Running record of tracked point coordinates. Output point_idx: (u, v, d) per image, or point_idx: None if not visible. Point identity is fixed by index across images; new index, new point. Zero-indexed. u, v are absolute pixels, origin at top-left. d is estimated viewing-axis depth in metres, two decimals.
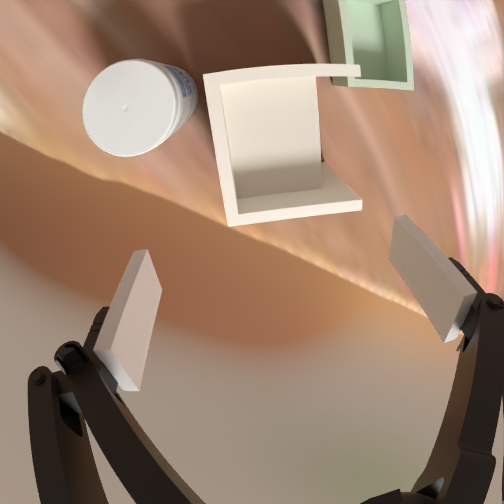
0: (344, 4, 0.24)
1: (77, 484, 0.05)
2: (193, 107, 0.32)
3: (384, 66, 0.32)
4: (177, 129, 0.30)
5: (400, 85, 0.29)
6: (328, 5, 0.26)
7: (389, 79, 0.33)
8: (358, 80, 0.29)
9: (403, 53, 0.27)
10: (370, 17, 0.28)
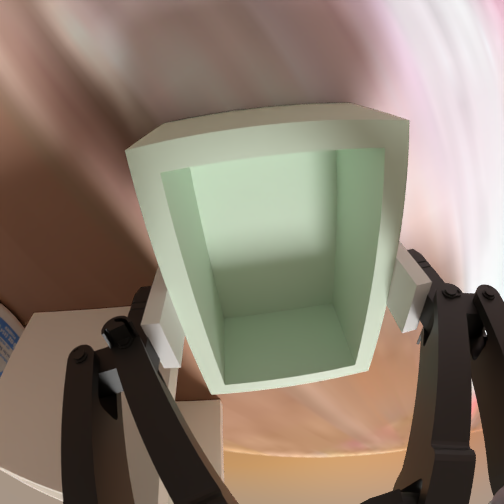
0: (166, 232, 0.10)
1: (105, 469, 0.06)
2: None
3: (327, 280, 0.19)
4: None
5: (336, 373, 0.16)
6: None
7: (334, 306, 0.19)
8: (232, 386, 0.16)
9: (362, 309, 0.14)
10: (300, 169, 0.15)
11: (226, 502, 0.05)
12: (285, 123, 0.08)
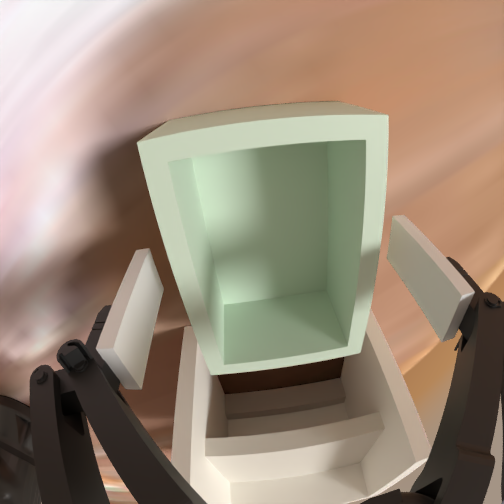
0: (171, 215, 0.11)
1: (78, 483, 0.05)
2: None
3: (320, 267, 0.20)
4: None
5: (329, 355, 0.17)
6: None
7: (328, 292, 0.21)
8: (231, 366, 0.17)
9: (352, 290, 0.15)
10: (294, 162, 0.16)
11: None
12: (276, 119, 0.10)
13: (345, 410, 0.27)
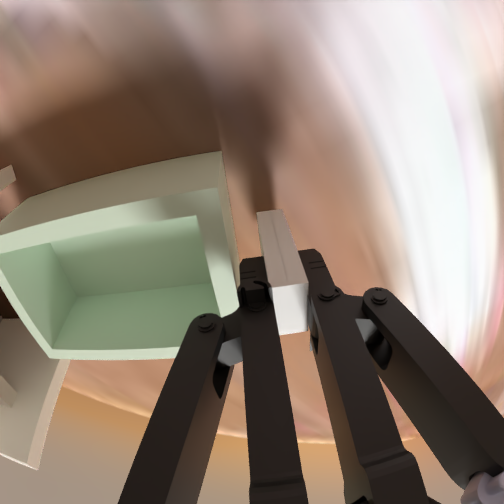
0: (142, 216, 0.11)
1: (191, 450, 0.07)
2: None
3: (96, 290, 0.20)
4: None
5: (38, 337, 0.15)
6: (172, 169, 0.14)
7: (76, 301, 0.20)
8: None
9: (101, 343, 0.16)
10: (186, 261, 0.19)
11: (305, 489, 0.05)
12: (236, 292, 0.14)
13: None
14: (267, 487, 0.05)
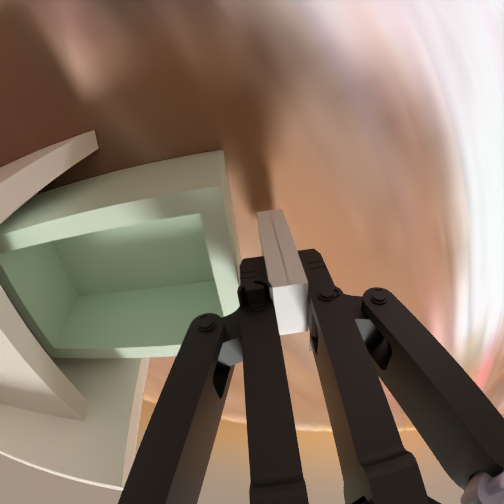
0: (145, 214, 0.11)
1: (192, 450, 0.07)
2: None
3: (98, 289, 0.20)
4: None
5: (40, 336, 0.15)
6: (174, 167, 0.14)
7: (78, 300, 0.20)
8: None
9: (103, 341, 0.16)
10: (188, 259, 0.19)
11: (305, 489, 0.05)
12: None
13: None
14: (267, 488, 0.05)
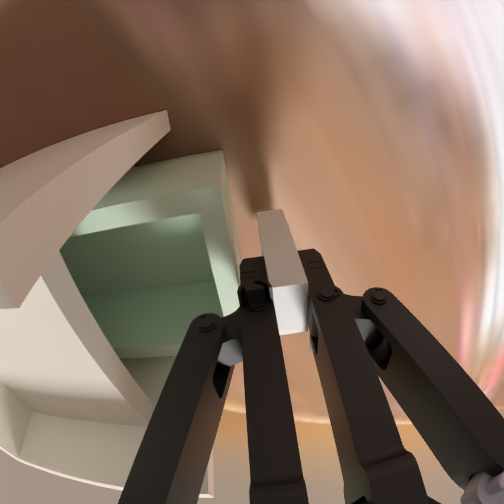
0: (145, 214, 0.11)
1: (192, 450, 0.07)
2: None
3: (98, 289, 0.20)
4: None
5: None
6: (174, 167, 0.14)
7: None
8: None
9: None
10: (188, 259, 0.19)
11: (305, 489, 0.05)
12: None
13: None
14: (267, 488, 0.05)
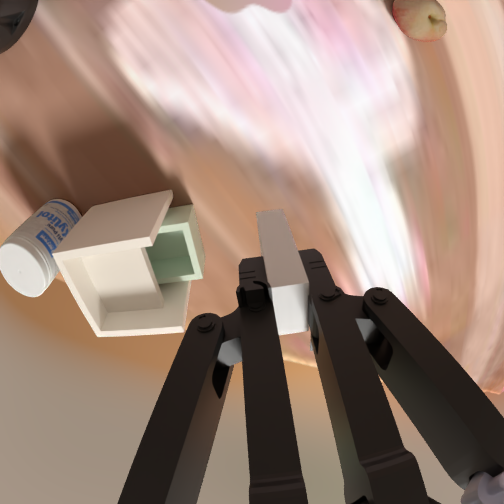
0: (166, 230, 0.39)
1: (191, 450, 0.07)
2: None
3: None
4: None
5: None
6: (175, 212, 0.42)
7: None
8: None
9: None
10: (181, 246, 0.47)
11: (305, 489, 0.05)
12: (196, 254, 0.42)
13: None
14: (266, 488, 0.05)
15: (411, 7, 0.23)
